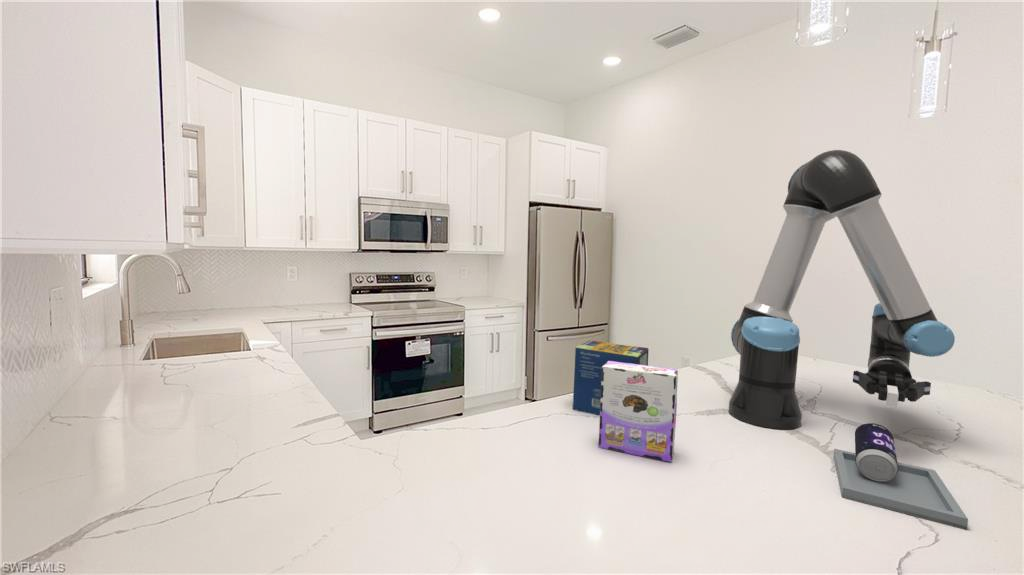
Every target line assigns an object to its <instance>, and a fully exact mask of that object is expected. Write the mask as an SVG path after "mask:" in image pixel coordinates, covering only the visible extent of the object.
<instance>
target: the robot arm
mask: <svg viewBox="0 0 1024 575" xmlns="http://www.w3.org/2000/svg"><path fill="white" fill-rule="evenodd" d="M882 195H883V194H882V192H881V191H880V188H879V186H878V184H877V182H876V180H875V178H874V176H873V175H872V173H871V171H870V170H869V168H868V166H867V165H866V163H865V162H864V161H863V160H862V158H860V157H859V156H858V155H857V154H855V153H853V152H852V151H847V150H843V149H833V150H828V151H825V152H822V153H820V154H818V155H816V156H815V157H813V158H812V159H810V160H809V161H807V162H805V163H804V164H802V165H800V166H799V167H798V168H797V169H796V170H795V171H794V172H793V173H792V175H791V177H790V179H789V181H788V185H787V195H786V198H785V201H784V203H783V206H782V207H783V210H784V211H785V213H786V215H785V219H784V221H783V224H782V226H781V228H780V232H779V234H778V236H777V239H776V242H775V244H774V247H773V250H772V252H771V255H770V257H769V259H768V262H767V265H766V267H765V270H764V272H763V275H762V278H761V280H760V283H759V284H758V288H757V290H756V293H755V296H754V297H753V298H754V299H753V300H752V301H750V302H749V303H746V304H744V305H743V309H742V312H741V313H740V316H739V319H737V321H735V323H734V324H733V326H732V329H731V332H730V338H731V340H730V341H731V342H732V347H734V350H736V352H737V353H738V354H739V355H740V359H739V370H738V372H739V373H738V374H739V375H738V382H737V384H736V387H735V389H734V391H733V393H732V395H731V397H730V398H729V401H728V402H729V403H728V412H729V414H730V415H731V416H732V417H734V418H736V419H738V420H740V421H741V422H745V423H748V424H751V425H755V426H758V427H759V426H760V427H763V428H768V429H770V428H771V429H777V430H791V429H797V428H800V426H801V425H802V417H803V415H802V411H801V407H800V403H799V400H798V396H797V393H796V381H797V379H796V378H797V368H798V360H799V359H798V357H799V348H800V347H799V346H800V344H801V338H800V328H799V327H798V325H797V324H796V323H794V322H793V320H794V319H793V318H792V317H791V314H790V310H791V308H792V305H793V303H794V300H795V297H796V296H797V294H798V291H799V288H800V286H801V284H802V281H803V278H804V276H805V273H806V272H807V269H808V266H809V263H810V261H811V259H812V257H813V255H814V254H813V253H814V251H815V249H816V247H817V244H818V242H819V239H820V237H821V235H822V231H823V229H824V227H825V225H826V223H827V222H828V221H831V220H834V219H835V218H836V217H837V219H838V221H839V223H840V224H841V226H842V230H843V231H844V233H845V235H846V237H847V238H848V240H849V243H850V246H851V247H852V249H853V251H854V253H855V255H856V257H857V259H858V261H859V263H860V266H861V267H862V269H863V271H864V273H865V276H866V277H867V279H868V281H869V283H870V286H871V288H872V289H873V291H874V294H875V296H876V298H877V300H878V301H879V302H878V303H876V304H875V305H874V307H873V311H872V312H873V313H872V315H871V319H872V320H871V321H872V322H871V334H870V343H869V344H870V345H869V355H868V360H867V368H868V369H867V372H862V371H859V370H853V371H852V372H853V373H852V383H854V384H857V385H858V386H859V387H861V388H862V389H863V391H865V392H866V393H867V394H868V395H875V393H876V394H878V396H877V398H878V400H879V401H882V402H883V401H885V402H886V407H888V408H892V409H898V404H899V402H902V403H904V402H906V399H907V401H909V402H911V403H914V402H917V401H919V400H920V399H921V398H922V397H924V396H929V395H931V388H932V382H930V381H919V380H916V379H915V378H913V376H912V373H911V370H910V360H911V353H913V354H915V355H918V356H919V355H920V356H925V357H931V358H932V357H934V358H935V357H940V356H943V355H945V354H947V353H948V352H950V351H951V349H952V348H953V347H954V345H955V341H956V340H955V334H954V332H953V331H952V329H951V328H950V327H949V326H947V325H946V324H944V323H942V322H940V321H938V319H937V317H936V314H935V313H934V311H933V309H932V307H931V306H930V304H929V302H928V300H927V298H926V295H925V293H924V291H923V289H922V287H921V285H920V283H919V281H918V279H917V277H916V275H915V273H914V271H913V269H912V267H911V265H910V263H909V261H908V258H907V257H906V255H905V253H904V251H903V248H902V247H901V244H900V242H899V240H898V239H897V236H896V234H895V233H894V230H893V229H892V226H891V224H890V222H889V220H888V218H887V216H886V214H885V212H884V210H883V208H882V206H881V204H880V199H881V197H882Z"/></svg>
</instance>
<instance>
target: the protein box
mask: <svg viewBox="0 0 1024 575" xmlns="http://www.w3.org/2000/svg"><path fill="white" fill-rule="evenodd" d="M574 348H575V350H574V353H575V354H574V370H573V371H574V372H573V373H574V374H573V395H572V396H573V398H572V410H575V411H579V412H583V413H588V414H593V415H597V416H600V399H601V375H602V366H604V365H605V364H606V363H607V362H608V361H614V362H622V363H631V364H638V365H646V366H649V352H650V351H649V348H648V347H642V346H634V345H627V344H618V343H614V342H613V343H612V342H611V343H610V342H605V341H596V340H589V341H586V342H584V343H582V344H579V345H577V346H575V347H574Z"/></svg>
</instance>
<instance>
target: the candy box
mask: <svg viewBox="0 0 1024 575" xmlns="http://www.w3.org/2000/svg"><path fill="white" fill-rule="evenodd" d="M678 379H679V369H678V368H677V369H676V368H669V367H661V366H654V365H653V366H651V365H648V366H646V365H638V364H631V363H622V362H614V361H608V362H607V363H606V364H605V365H604V366H602V375H601V399H600V415H599V428H598V444H597V447H598V448H599V449H606V450H609V451H615V452H618V453H619V452H620V453H625V454H628V455H629V454H630V455H633V456H640V457H643V458H644V457H645V458H649V459H655V460H659V461H664V462H669V463H672V461H673V457H674V452H675V439H676V438H675V436H676V423H677V405H678Z"/></svg>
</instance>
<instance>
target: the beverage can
mask: <svg viewBox="0 0 1024 575" xmlns="http://www.w3.org/2000/svg"><path fill="white" fill-rule="evenodd" d="M854 453H855V462H856V465H857V467H858V469H859V470H860V471H861V472H862V473H863V474H864V475H865V476H866V477H868V478H869V479H872V480H875V481H881V482H882V481H888V480H890V479H892V478H893V477H894V476H895V475H896V474H897V472H898V458H897V452H896V446H895V440H894V436H893V434H892V432H891V431H890V429H888V428H887V427H885V426H883V425H882V424H878V423H871V422H869V423H868V422H867V423H864V424H863V423H862V424H861V425H859V426H858V427H856V429H855V432H854Z"/></svg>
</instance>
